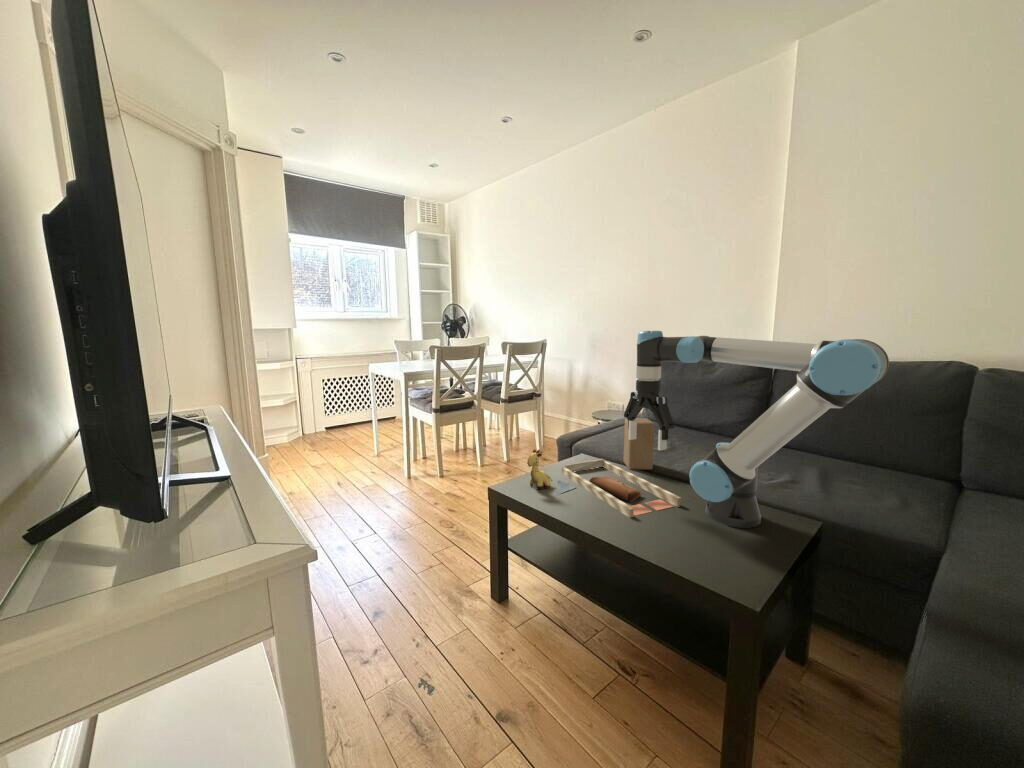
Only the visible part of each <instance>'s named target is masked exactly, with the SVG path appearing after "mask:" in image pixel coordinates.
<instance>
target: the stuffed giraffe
mask: <svg viewBox="0 0 1024 768" xmlns="http://www.w3.org/2000/svg"><path fill="white" fill-rule="evenodd" d="M540 451H541V450H540V449H536V448H534V449H533V450H532V452H531V453H530V455H529V456H528V458H527V463H526V464H527V466H528V467H529V468H531V471H530V477H531V479H530V481H529V485H530V487H532V489H533V490H544V489H545V490H546V489H547V490H548V489H550V488H551V482H553V481H554V479H552V477H551V476H550V475H549V474H548V473H547V472H545V471H543V470H540V469H539V465H540V458H541V457H542V455H543V453H542V452H540ZM561 483H562V484H561ZM556 484H557V485H559V484H560V485H559V486H560V487H559V489H557V490H556V491H555V492H554V494H556V496H559V495H561V494H563V493H565V492H567V491H571V490H574V489H576V488H577V487H575V486H573V485H572V484H569V483H567V482H563V481H561V480H558V482H557V481H556Z"/></svg>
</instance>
